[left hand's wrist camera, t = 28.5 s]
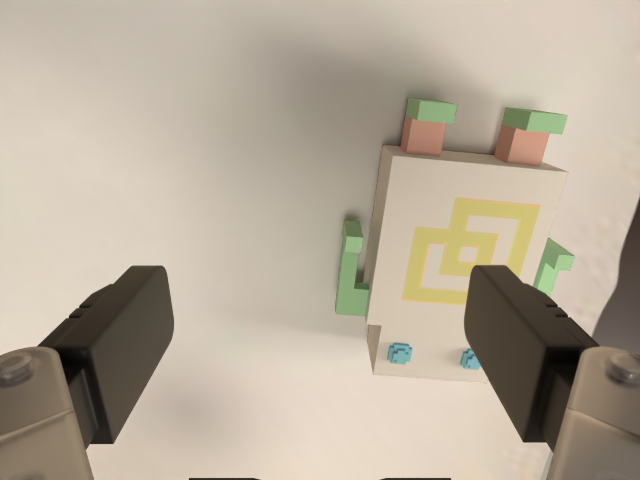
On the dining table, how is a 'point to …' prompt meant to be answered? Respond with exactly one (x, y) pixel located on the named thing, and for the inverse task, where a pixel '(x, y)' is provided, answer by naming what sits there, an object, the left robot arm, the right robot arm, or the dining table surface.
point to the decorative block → (449, 237)
